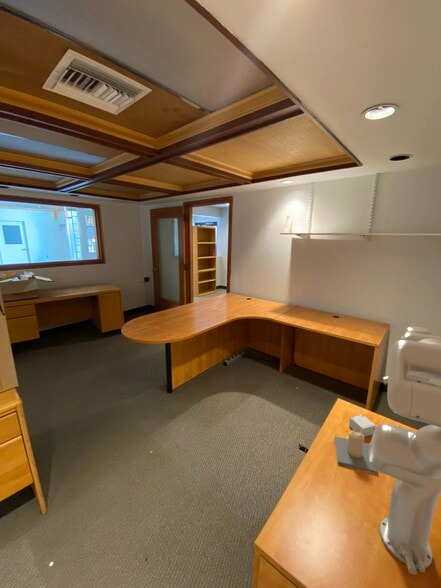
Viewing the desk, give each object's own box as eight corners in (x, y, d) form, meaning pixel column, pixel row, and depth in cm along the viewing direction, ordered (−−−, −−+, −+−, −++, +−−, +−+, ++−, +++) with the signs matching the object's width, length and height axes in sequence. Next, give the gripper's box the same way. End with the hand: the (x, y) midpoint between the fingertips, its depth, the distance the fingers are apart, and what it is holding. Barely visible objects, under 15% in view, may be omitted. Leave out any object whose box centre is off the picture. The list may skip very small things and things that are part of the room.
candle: (347, 454, 103) (349, 434, 101) (347, 445, 108) (349, 425, 106) (362, 460, 101) (365, 439, 99) (361, 450, 106) (364, 429, 104)
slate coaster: (377, 474, 96) (377, 471, 96) (337, 463, 101) (337, 461, 100) (369, 446, 109) (369, 444, 109) (334, 438, 114) (334, 436, 113)
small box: (361, 438, 114) (362, 428, 113) (348, 426, 121) (349, 417, 120) (374, 434, 116) (376, 425, 115) (361, 423, 123) (362, 414, 122)
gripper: (388, 361, 90) (382, 403, 94) (448, 369, 84) (439, 413, 88) (383, 352, 97) (377, 392, 100) (437, 359, 91) (429, 401, 95)
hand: (406, 402), depth 94 cm, fingers open, 9 cm apart
